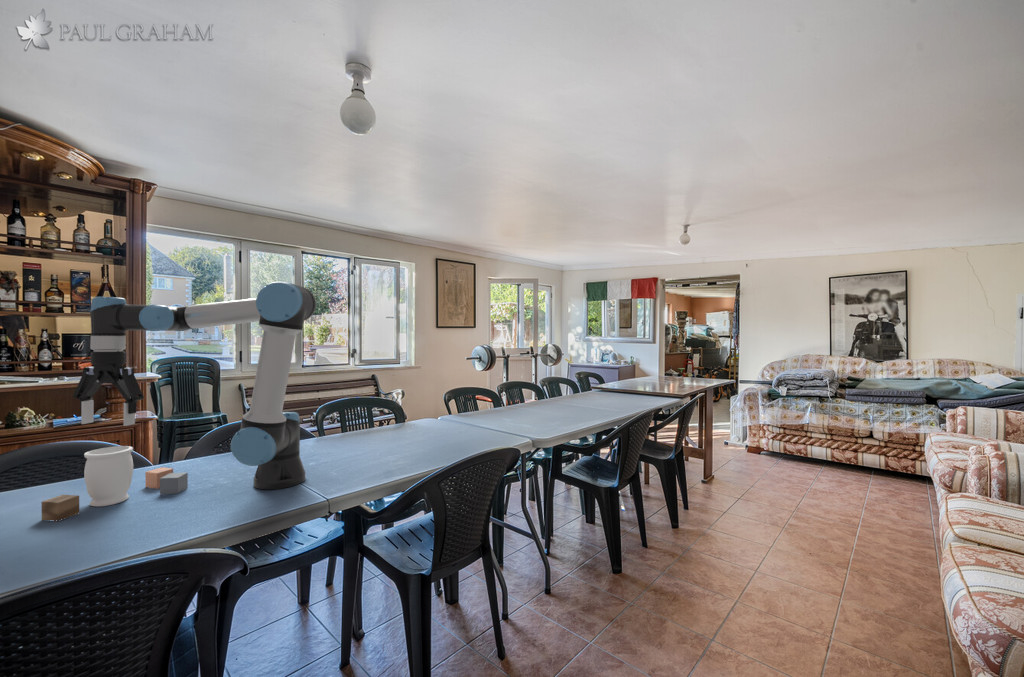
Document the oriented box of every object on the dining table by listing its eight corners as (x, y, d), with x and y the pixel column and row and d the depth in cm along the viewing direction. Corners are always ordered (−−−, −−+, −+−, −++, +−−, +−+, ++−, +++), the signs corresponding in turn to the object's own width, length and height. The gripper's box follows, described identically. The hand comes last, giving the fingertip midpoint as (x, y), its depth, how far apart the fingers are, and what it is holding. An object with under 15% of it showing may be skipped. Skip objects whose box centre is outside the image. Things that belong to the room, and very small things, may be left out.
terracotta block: (173, 484, 144) (173, 468, 144) (157, 489, 139) (157, 473, 139) (162, 482, 145) (161, 467, 145) (145, 487, 140) (145, 471, 140)
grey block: (187, 488, 140) (187, 472, 140) (178, 494, 135) (178, 477, 135) (170, 489, 139) (170, 473, 139) (160, 494, 134) (159, 478, 134)
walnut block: (79, 513, 120) (79, 495, 120) (58, 521, 115) (58, 502, 115) (63, 512, 121) (63, 494, 120) (41, 520, 116) (41, 501, 116)
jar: (103, 510, 122) (103, 456, 122) (74, 507, 124) (73, 453, 124) (142, 496, 133) (142, 446, 132) (115, 493, 135) (114, 444, 135)
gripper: (159, 350, 130) (158, 422, 130) (84, 349, 133) (84, 419, 133) (134, 352, 123) (134, 428, 123) (55, 350, 126) (55, 424, 126)
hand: (108, 424), depth 128 cm, fingers open, 13 cm apart
